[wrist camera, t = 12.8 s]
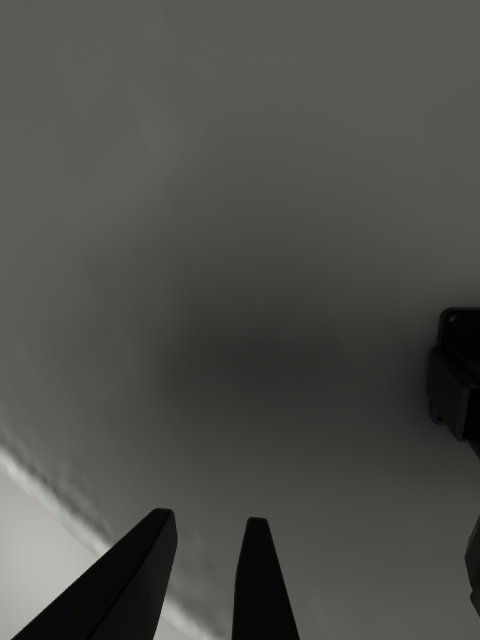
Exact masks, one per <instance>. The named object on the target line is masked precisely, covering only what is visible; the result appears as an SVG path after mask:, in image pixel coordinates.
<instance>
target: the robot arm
mask: <svg viewBox="0 0 480 640" xmlns="http://www.w3.org/2000/svg"><path fill="white" fill-rule="evenodd" d="M453 315H457V320H456V321H454V322H449V319H450V317H451V316H453ZM427 394H428V396H429V398H430V399H431V402H430V410H429V415H430V417H431V419H432V421H433V422H434V423H436V424H438V425H447V426H448V428H449V430H450V431H451V433H452V434H453V436H454V437H455V438H456V439H457V440H458V441H459V442H468V443H469V445H470V446H471V448H472V449H473V451H474V452H475V454H476V455H477V457H478V458H479V460H480V308H449V309H447V310H445V311H444V312H443V314H442V316H441V322H440V330H439V338H438V346H437V347H435V348H434V349H433V350H432V351H431V359H430V367H429V375H428V384H427ZM438 414H440V415H441V417H437V415H438ZM177 541H178V537H177V529H176V522H175V515H174V512H173V510H171V509H164V508H156V509H154V510H152V511H151V512H150V513H149V514H148V515H147V516H146V517H145V518H143V519H142V520H141V521H140V522H139V523H138V524H137V525H136V526H135V527H134V528H133V529H131V530H130V531H129V532H128V533H127V534H126V535H125V536H124V537H123V538H122V539H120V540H119V541H118V542H117V543H116V544H115V545H114V546H113V547H112V548H111V549H110V550H108V551H107V552H106V553H105V554H104V555H103V556H102V557H101V558H100V559H99V560H98V561H96V563H94V564H93V565H92V566H91V567H90V568H89V569H88V570H87V571H86V572H84V573H83V574H82V575H81V576H80V577H79V578H78V579H77V580H76V581H75V582H73V583H72V584H71V585H70V586H69V587H68V588H67V589H66V590H65V591H64V592H63V593H61V594H60V595H59V596H58V597H57V598H56V599H55V600H54V601H53V602H52V603H50V604H49V605H48V606H47V607H46V608H45V609H44V610H43V611H42V612H41V613H40V614H38V615H37V616H36V617H35V618H34V619H33V620H32V621H31V622H30V623H29V624H28V625H26V626H25V627H24V628H23V629H22V630H21V631H20V632H19V633H18V634H17V635H15V636H14V637H13V638H12V639H11V640H153V638H154V635H155V631H156V629H157V625H158V621H159V617H160V614H161V610H162V606H163V602H164V597H165V593H166V589H167V585H168V581H169V577H170V573H171V569H172V565H173V561H174V557H175V553H176V549H177ZM465 562H466V567H467V572H468V576H469V581H470V585H471V587H472V589H473V590H472V593H471V595H470V599H471V602H472V604H473V606H474V608H475V609H476V611H477V613H478V615H479V617H480V515H479V518H478V520H477V522H476V524H475V527H474V529H473V531H472V534H471V536H470V538H469V541H468V545H467V550H466V554H465ZM232 640H300V638H299V634H298V630H297V627H296V623H295V619H294V616H293V612H292V608H291V605H290V601H289V597H288V594H287V590H286V586H285V583H284V579H283V575H282V572H281V568H280V564H279V561H278V557H277V554H276V550H275V546H274V543H273V539H272V535H271V532H270V528H269V524H268V521H267V519H265V518H258V517H249V518H248V520H247V524H246V529H245V533H244V538H243V542H242V547H241V551H240V556H239V560H238V565H237V570H236V578H235V591H234V607H233V623H232Z"/></svg>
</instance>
